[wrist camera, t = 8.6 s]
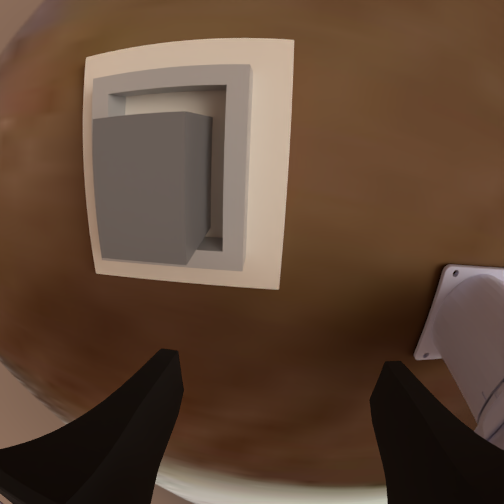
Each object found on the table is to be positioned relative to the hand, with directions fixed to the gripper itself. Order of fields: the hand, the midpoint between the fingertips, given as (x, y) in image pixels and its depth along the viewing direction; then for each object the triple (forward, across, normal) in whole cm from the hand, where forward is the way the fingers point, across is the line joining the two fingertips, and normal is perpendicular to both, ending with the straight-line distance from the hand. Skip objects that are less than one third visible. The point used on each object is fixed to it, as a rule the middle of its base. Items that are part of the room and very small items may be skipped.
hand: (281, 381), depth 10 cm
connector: (+8, +6, -6) cm, 12 cm away
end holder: (+9, +6, -6) cm, 13 cm away
